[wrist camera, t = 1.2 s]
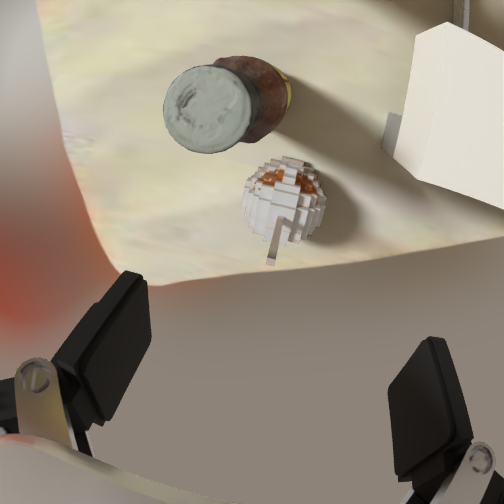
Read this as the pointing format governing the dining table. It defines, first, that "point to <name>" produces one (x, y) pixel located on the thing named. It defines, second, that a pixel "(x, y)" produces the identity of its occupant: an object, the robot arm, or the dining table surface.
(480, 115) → the cabinet
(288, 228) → the decorative ornament
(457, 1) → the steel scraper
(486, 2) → the dining table surface
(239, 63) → the sauce bottle
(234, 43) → the dining table surface
